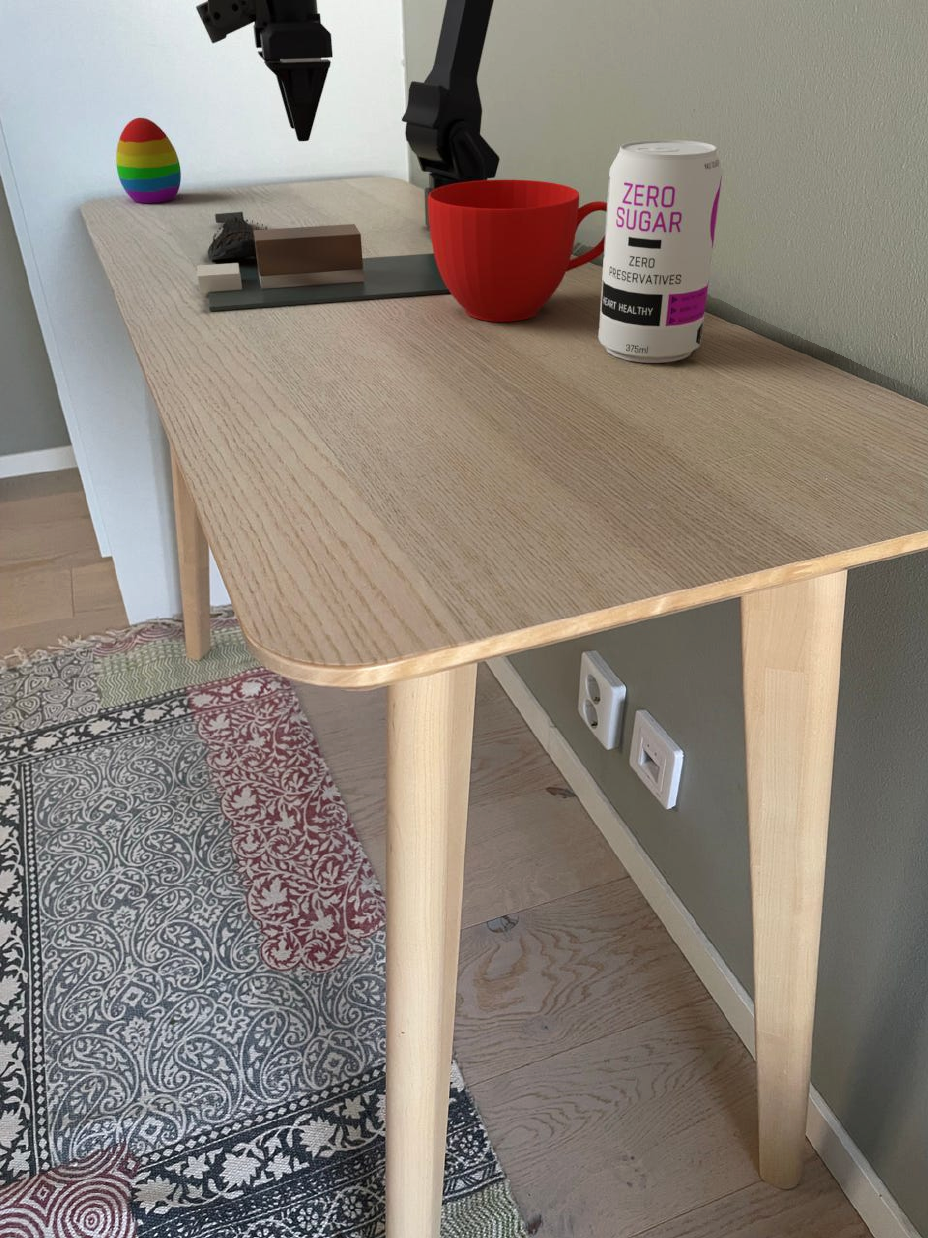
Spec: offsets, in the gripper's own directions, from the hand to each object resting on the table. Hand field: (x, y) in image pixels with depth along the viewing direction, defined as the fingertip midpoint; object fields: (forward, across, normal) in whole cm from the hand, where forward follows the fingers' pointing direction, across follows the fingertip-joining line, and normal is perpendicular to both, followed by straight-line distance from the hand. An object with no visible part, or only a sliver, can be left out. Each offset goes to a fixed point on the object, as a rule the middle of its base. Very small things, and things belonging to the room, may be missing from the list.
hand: (299, 134), depth 99 cm
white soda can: (+12, +38, +24) cm, 47 cm away
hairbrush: (+12, -7, -7) cm, 16 cm away
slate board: (+12, +11, +1) cm, 16 cm away
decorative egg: (+12, -37, -18) cm, 43 cm away
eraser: (+12, +11, -1) cm, 16 cm away
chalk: (+12, +11, -10) cm, 19 cm away
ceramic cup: (+12, +25, +17) cm, 33 cm away
